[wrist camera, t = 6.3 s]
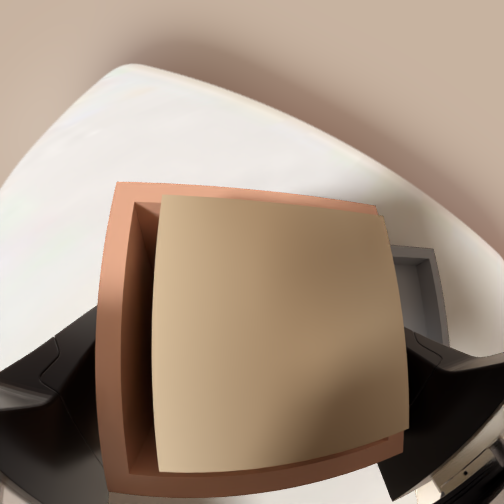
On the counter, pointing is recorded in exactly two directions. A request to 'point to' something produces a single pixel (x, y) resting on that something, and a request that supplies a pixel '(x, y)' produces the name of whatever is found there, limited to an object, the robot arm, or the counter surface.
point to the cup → (140, 359)
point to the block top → (272, 334)
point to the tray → (420, 292)
